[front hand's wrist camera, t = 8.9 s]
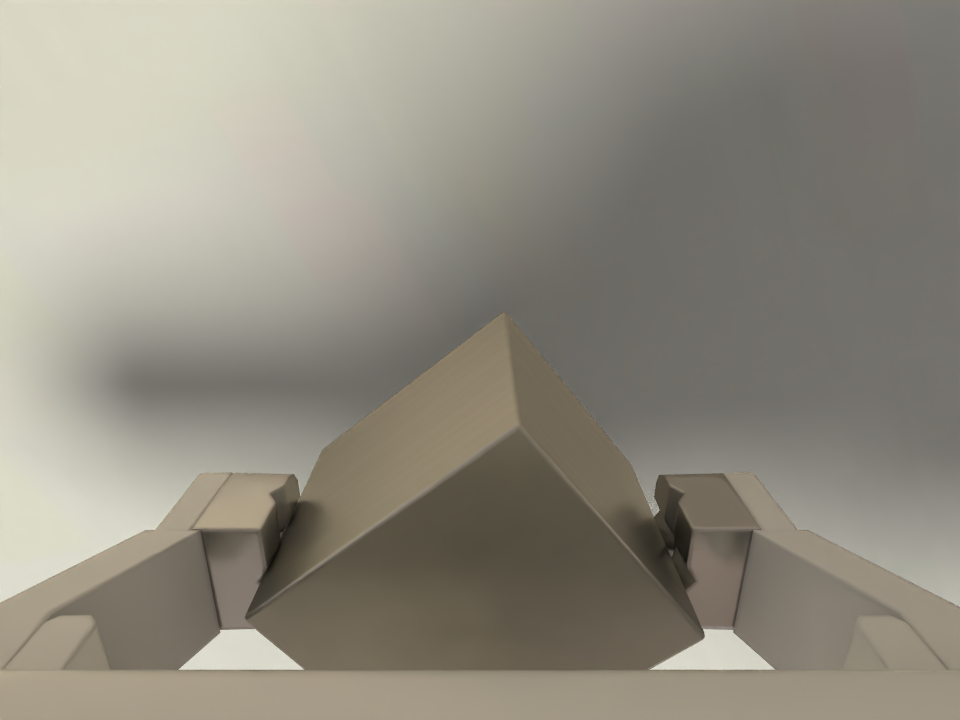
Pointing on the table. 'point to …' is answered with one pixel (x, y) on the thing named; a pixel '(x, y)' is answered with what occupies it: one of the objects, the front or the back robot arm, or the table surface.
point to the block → (475, 534)
